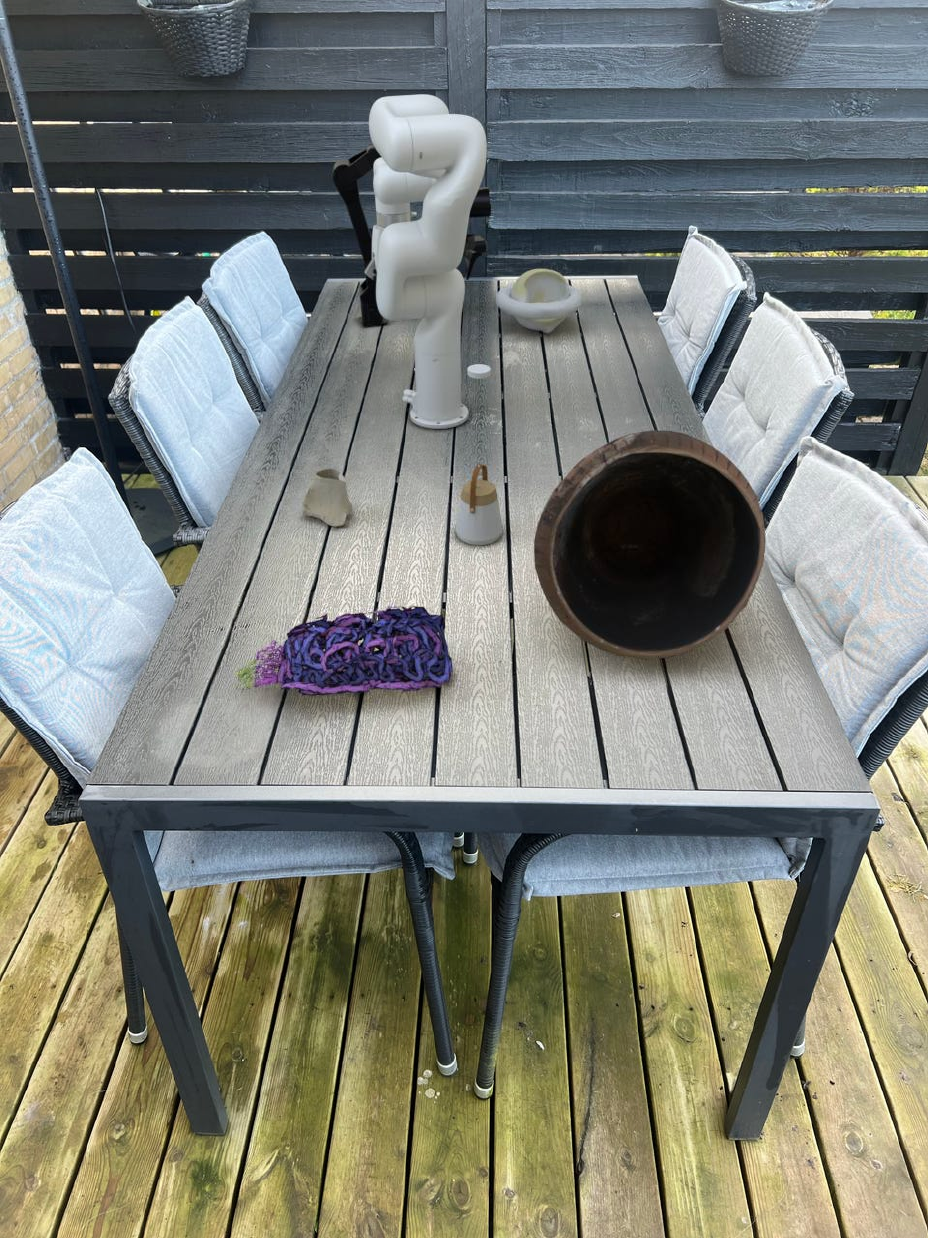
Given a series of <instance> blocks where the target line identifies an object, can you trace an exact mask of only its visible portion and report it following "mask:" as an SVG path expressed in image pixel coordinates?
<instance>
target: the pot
mask: <svg viewBox="0 0 928 1238" xmlns="http://www.w3.org/2000/svg"><path fill="white" fill-rule="evenodd" d="M535 530H536V531H535V534H534V540H533V545H534V546H533V558H534V569H535V572H536V576H537V579H538V582H539V585H540V587H541V590H542V592H543V594H544V597H545V599H546V601H547V603H548V605H549V607H550V608H551V610H552V612H553V613H554V614H555V616H556V617H557V619H558V620H559V621H560V622H561V623H562V624H563V625H564V626H565V627H566V628H568V629H569V630H570V631H571V632H572V633H573V634H574V635H576V636H577V637H578V638H580V639H581V640H582V641H583V642H585V643H586V644H589V645H591V646H593V647H594V648H597V649H599V650H601V651H603V652H606V653H608V654H611V655H614V656H616V657H623V658H631V659H639V660H654V659H668V658H672V657H673V656H678V655H682V654H686V653H688V652H691V651H693V650H695V649H697V648H699V647H701V646H703V645H705V644H707V643H709V642H710V641H712V640H713V639H715V638H716V637H718V636H720V635H721V634H722V633H723V632H725V631H726V630H727V629H728V628H729V626H730V625H731V624H732V623H734V622H735V620H736V619H737V618H738V616H739V614H740V613H741V612H742V611H743V610H744V609H745V608H747V606H748V603H749V601H750V599H751V597H752V595H753V594H754V591H755V589H756V588H757V587H756V586H757V585H756V584H757V583H758V581H759V579H760V576H761V573H762V569H763V566H764V561H765V553H766V542H767V541H766V539H767V538H766V530H765V521H764V513H763V511H762V509H761V506H760V502H759V499H758V496H757V494H756V492H755V490H754V489H753V487H752V485H751V483H750V482H749V480H748V479H747V477H746V476H745V475H744V474H743V472H742V471H741V470H740V469H739V467H738V466H736V465H735V464H734V463H733V461H732V460H730V459H729V458H728V457H727V456H726V455H725V454H724V453H723V452H721V450H718V449H717V448H716V447H714V446H713V445H711V444H709V443H707V442H705V441H703V440H702V439H699V438H696V437H693V436H690V435H688V434H685V433H682V432H677V431H673V430H659V429H657V430H655V429H652V430H645V431H638V432H634V433H633V432H632V433H629V434H626V435H623V436H620V437H618V438H615V439H613V440H611V441H610V442H608V443H606V444H604V445H602V446H600V447H599V448H596V449H595V450H593V451H592V452H590V453H589V454H587V455H585V456H584V457H583V458H582V459H581V460H580V461H578V462H577V463H576V464H575V465H574V466H573V468H572V469H571V470H570V471H569V472H568V473H567V474H566V476H565V477H564V478H563V479H562V480H561V481H560V482H559V483H558V485H557V486H556V487H555V488H554V489H553V491H552V493H551V494H550V496H549V497H548V499H547V501H546V503H545V506H544V507H543V509H542V510H541V513H540V516H539V520H538V522H537V525H536V529H535Z"/></svg>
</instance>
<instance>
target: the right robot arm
mask: <svg viewBox="0 0 928 1238" xmlns="http://www.w3.org/2000/svg"><path fill="white" fill-rule="evenodd" d="M368 129H369V130H368V131H369V136H370V140H371V142H372V145H374V147H375V148H376V150H377V151H378V153H379V154H380V155H381V158H378V159H377V160H376V161H375V162H374V166H373V168H372V169H373V179H372V184H373V185H372V186H373V192H374V199H375V200H374V201H375V202H374V203H375V214H376V215H375V216H376V224H373V227H372V233H371V237H372V260H371V262H370V263H369V265H368V266H367V268H366V270H365V269H364V274H366V275H367V276H368V277H370V278H371V279H373V280H374V281H375V282H376V300H377V306H378V310H379V312H380V314H381V315H382V316H383V317H384V318H385V320H386V321H390V322H399V321H401V322H402V321H409V320H417V319H420V322H419V324H418V326H417V327H416V329H415V333H414V338H413V346H414V347H413V350H414V369H415V390H414V389H413V390H412V389H408V388H406V389H404V391H403V396H402V402H403V403H406V404H411V406H412V408H411V409H410V411H409V418H410V420H411V422H412V423H414V424H416V426H418V427H421V428H426V429H430V430H431V429H433V430H443V429H445V430H446V429H451V428H455V427H459V426H460V425H463V424H464V423H465V422H466V421H468V419H469V414H470V413H469V409H468V407H467V406H466V405H464V404H462V369H461V368H462V366H461V365H462V363H461V362H462V358H461V357H462V356H461V355H462V353H461V351H462V350H461V348H462V347H461V345H462V343H461V342H462V341H461V340H462V339H461V337H462V336H461V334H462V331H461V330H462V328H461V327H462V313H463V307H464V302H465V294H466V284H465V279H464V276H463V274H462V273H461V271H460V270H459V269H458V267H459V266H460V264H461V262H462V259H463V257H464V256H463V252H464V247H465V240H466V234H468V226H469V221H470V220H469V219H470V218H469V214H470V209H471V207H472V204H473V201H474V199H475V197H476V194H477V192H478V190H479V188H481V184H482V182H483V179H484V175H485V170H486V165H487V157H488V156H487V154H488V148H487V147H488V143H487V136H486V130H485V128H484V127H483V125H482V123H481V121H479V120H478V119H477V118H475V117H473V116H470V115H466V114H460V113H459V114H458V113H450V111H449V108H448V106H447V105H446V103H445V102H444V101H443V100H442V99H440V98H439V97H437V96H435V95H432V94H426V93H425V94H423V93H422V94H406V95H403V94H402V95H389V96H388V95H387V96H383V97H380V98H377V100H375V102H374V103H373V104H372V106H371V108H370V111H369V117H368ZM421 202H422V213H421V217H420V218H419V219H417V218H418V213H417V211H412V210H411V203H421ZM414 219H417V220H414ZM374 269H376V271H377V275H376V274H374V273H373V270H374ZM366 275H365V276H366Z"/></svg>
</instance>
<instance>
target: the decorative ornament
mask: <svg viewBox="0 0 928 1238" xmlns="http://www.w3.org/2000/svg"><path fill="white" fill-rule="evenodd" d="M401 608H402V609H400V607H398V606H391V605H390V606H387V608H386V609H385V610H375V611H369V612H357V613H347V612H346V613H345V614H341V615H339V616H336V617H335V619H333V620H328V613H325V614H323V615H322V616H317V617H316V618H314V620H313V621H309V622H303V623H300V624H298V625H294V627H292V628H291V629H290V630H289V631H288V632H287V633H286V636H287V639H286V640H284V643H283V644H280V645H278V646H277V644H278V641H277V640H274V639H273V640H272V641H270V643H268V644H269V646H265V649H264V648H262V649H261V650H260V651H259V650H258V651H257V653H256V655H255V656H254V657H255V658H254V659H253V660H252V661H250V663H248V664H247V665H245V666H243V667H241V668H239V669H238V670H236V673H235V675H236V677H235V679H238V681H239V683H238V684H237V686H236V688H235V690H238V689H240V687H239V686H242V685H243V684H244V685H243V686H242V687H241V689H242V690H241V693H243V692H244V690H251V689H260V688H261V689H260V690H262V691H263V688H264V686H266V688H267V690H268V689H269V690H270V689H273V687H269V688H268V686H271V685H276V689H280V690H285V692H286V693H289V691H290V690H298V691H297V693H298V695H301V696H310V697H311V696H312V697H317V696H331V695H342V694H347V693H348V694H365V693H370V690H395V691H397V690H402V691H403V692H404V693H405V692H419V691H420V690H421V689H433V688H434V689H436V688H438V689H439V688H442V684H444V683H445V684H446V683H450V680H451V677H452V673H453V672H454V670H453V658H452V657H451V656H450V654H449V652H450V651H449V647H448V643H447V640H446V635H445V633H444V630H445V629H446V621H445V617H444V616H443V614H430V613H429V612H428V610H427V609H426V608H425V607H424V606H419V605H418V606H416V605H412V606H410V607H405V606H401ZM366 614H376V618H377V619H376V618H375V619H374V618H370V617H368V616H367V615H366ZM373 621H375V622H373ZM360 641H361V642H360ZM359 642H360V644H359ZM276 646H277V647H276ZM376 649H377V650H376ZM265 653H267V655H265ZM251 666H253V667H251ZM265 666H266V667H265ZM253 674H254V675H253ZM425 675H426V676H425ZM278 685H280V686H278ZM277 686H278V687H277Z"/></svg>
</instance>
